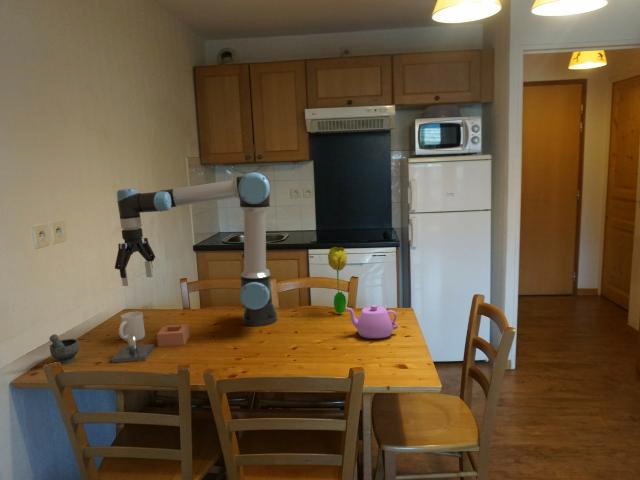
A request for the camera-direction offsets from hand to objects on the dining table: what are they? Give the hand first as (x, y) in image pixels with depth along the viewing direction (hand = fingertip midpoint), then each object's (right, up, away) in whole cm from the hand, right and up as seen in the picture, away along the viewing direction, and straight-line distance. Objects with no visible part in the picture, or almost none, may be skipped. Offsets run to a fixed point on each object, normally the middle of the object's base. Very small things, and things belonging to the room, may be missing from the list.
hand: (138, 281), depth 192 cm
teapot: (+93, -21, -5) cm, 95 cm away
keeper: (+3, -27, -11) cm, 29 cm away
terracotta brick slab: (+14, -24, +1) cm, 28 cm away
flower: (+81, -17, +21) cm, 86 cm away
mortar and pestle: (-22, -29, -14) cm, 39 cm away
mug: (-5, -25, +5) cm, 26 cm away
